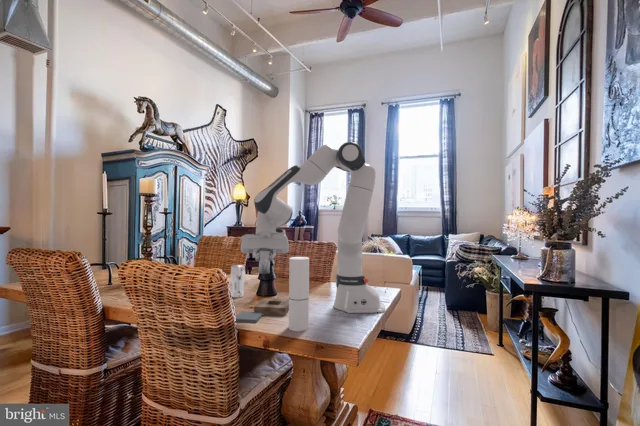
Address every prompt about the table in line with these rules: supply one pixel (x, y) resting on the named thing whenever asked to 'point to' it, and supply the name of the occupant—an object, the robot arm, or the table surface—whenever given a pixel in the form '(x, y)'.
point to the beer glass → (237, 280)
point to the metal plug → (264, 260)
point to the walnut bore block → (272, 306)
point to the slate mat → (249, 316)
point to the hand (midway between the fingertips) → (264, 259)
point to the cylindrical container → (298, 293)
